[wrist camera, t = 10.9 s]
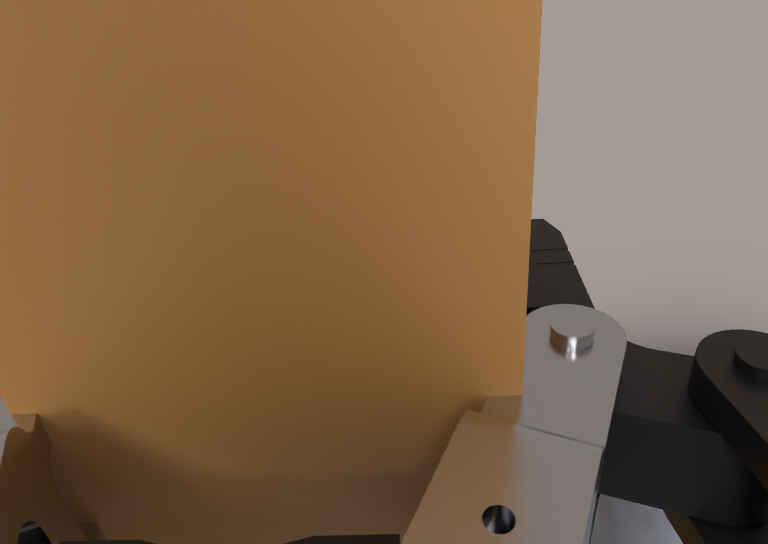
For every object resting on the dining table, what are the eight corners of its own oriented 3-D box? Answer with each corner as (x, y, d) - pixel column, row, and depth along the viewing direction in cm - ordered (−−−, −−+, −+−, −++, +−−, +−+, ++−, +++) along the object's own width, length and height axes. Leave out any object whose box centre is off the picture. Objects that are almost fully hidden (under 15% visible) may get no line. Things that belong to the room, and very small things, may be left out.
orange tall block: (210, 754, 12) (-286, -92, 4) (267, 503, 16) (86, -103, 9) (504, 757, 11) (551, -184, 4) (475, 498, 16) (471, -144, 8)
